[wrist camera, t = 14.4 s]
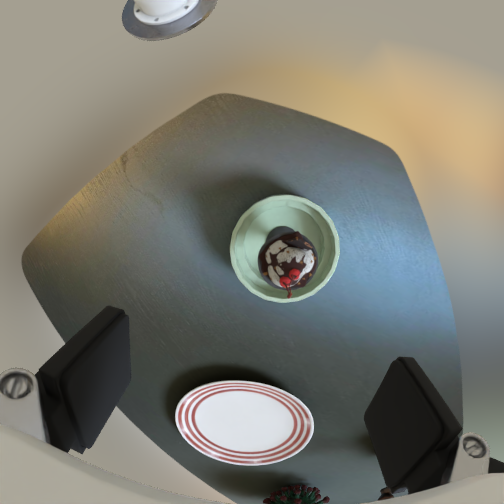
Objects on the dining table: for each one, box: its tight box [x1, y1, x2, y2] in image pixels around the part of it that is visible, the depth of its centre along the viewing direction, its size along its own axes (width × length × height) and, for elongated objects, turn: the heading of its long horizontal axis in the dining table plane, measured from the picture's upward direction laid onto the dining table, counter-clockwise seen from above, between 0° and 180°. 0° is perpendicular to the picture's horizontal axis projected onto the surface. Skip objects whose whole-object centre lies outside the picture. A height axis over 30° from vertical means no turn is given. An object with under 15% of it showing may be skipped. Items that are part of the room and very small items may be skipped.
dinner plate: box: [175, 380, 314, 465], centre depth 48 cm, size 28×27×3 cm
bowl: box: [230, 194, 340, 303], centre depth 39 cm, size 14×14×5 cm
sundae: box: [258, 226, 318, 299], centre depth 33 cm, size 7×7×15 cm
